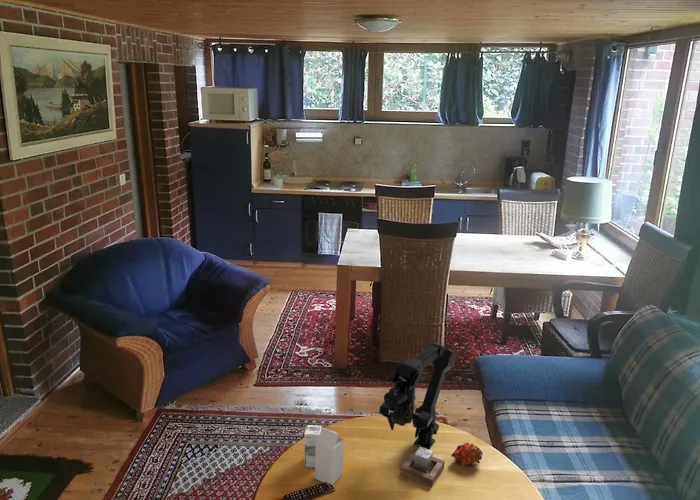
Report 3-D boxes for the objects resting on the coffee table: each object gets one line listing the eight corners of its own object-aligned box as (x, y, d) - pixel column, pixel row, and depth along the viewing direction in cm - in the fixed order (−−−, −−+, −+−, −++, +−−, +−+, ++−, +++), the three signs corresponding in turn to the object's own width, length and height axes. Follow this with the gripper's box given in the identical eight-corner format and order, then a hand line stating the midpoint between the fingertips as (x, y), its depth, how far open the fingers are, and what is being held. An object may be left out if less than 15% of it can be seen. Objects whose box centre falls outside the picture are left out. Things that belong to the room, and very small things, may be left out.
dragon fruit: (484, 468, 206) (452, 472, 206) (478, 445, 211) (447, 448, 211) (487, 461, 199) (454, 465, 199) (481, 438, 204) (449, 441, 204)
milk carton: (331, 486, 191) (332, 439, 186) (314, 478, 195) (315, 432, 189) (342, 475, 197) (344, 429, 192) (326, 467, 201) (327, 422, 195)
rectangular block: (418, 465, 204) (420, 446, 201) (431, 469, 201) (433, 451, 199) (413, 472, 200) (414, 454, 197) (426, 477, 197) (427, 458, 195)
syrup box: (320, 458, 205) (321, 424, 201) (319, 468, 200) (320, 434, 196) (305, 457, 206) (306, 423, 201) (303, 468, 200) (304, 433, 196)
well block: (414, 456, 208) (414, 449, 207) (444, 467, 203) (444, 461, 202) (400, 474, 198) (400, 467, 197) (431, 487, 193) (432, 480, 192)
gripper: (373, 399, 194) (371, 437, 199) (423, 415, 186) (420, 454, 191) (386, 385, 204) (384, 421, 208) (434, 399, 196) (431, 437, 201)
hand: (404, 433), depth 202 cm, fingers open, 9 cm apart
